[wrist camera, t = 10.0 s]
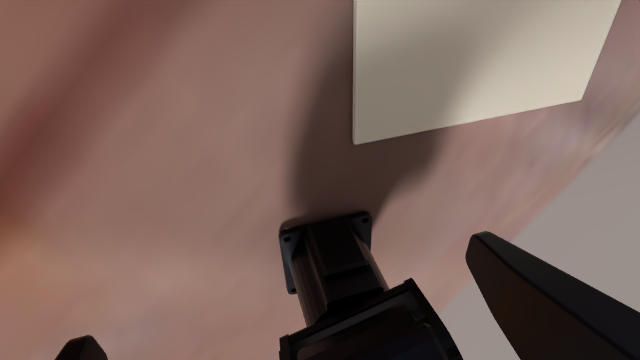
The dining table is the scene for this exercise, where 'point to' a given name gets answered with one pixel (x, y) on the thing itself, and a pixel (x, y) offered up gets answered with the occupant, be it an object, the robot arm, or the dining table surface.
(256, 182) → the dining table surface
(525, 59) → the mat
